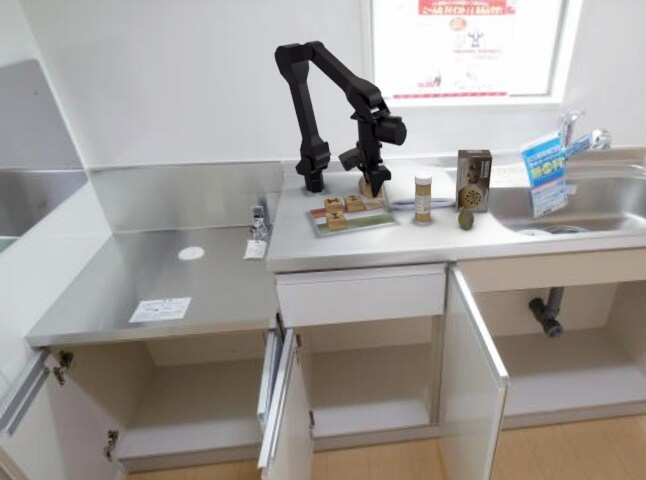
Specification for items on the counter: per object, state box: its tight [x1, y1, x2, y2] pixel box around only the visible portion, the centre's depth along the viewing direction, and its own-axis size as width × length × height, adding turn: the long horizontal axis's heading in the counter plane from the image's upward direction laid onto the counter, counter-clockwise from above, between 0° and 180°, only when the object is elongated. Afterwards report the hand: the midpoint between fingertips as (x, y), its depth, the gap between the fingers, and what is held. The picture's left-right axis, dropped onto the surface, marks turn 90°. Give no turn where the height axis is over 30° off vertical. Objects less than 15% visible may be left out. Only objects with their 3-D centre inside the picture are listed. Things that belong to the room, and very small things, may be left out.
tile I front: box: [325, 211, 347, 231], centre depth 119 cm, size 4×4×3 cm
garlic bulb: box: [357, 175, 366, 193], centre depth 138 cm, size 8×7×8 cm
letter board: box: [309, 199, 397, 235], centre depth 125 cm, size 15×22×1 cm
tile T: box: [362, 183, 383, 200], centre depth 128 cm, size 4×4×3 cm
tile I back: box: [343, 193, 364, 212], centre depth 128 cm, size 4×4×3 cm
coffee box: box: [454, 149, 493, 213], centre depth 127 cm, size 9×6×16 cm
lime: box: [457, 209, 475, 230], centre depth 121 cm, size 4×5×5 cm
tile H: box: [323, 196, 344, 213], centre depth 126 cm, size 4×4×3 cm
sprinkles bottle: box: [414, 171, 433, 223], centre depth 120 cm, size 5×5×13 cm
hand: (372, 194), depth 128 cm, fingers closed on tile T, 4 cm apart
